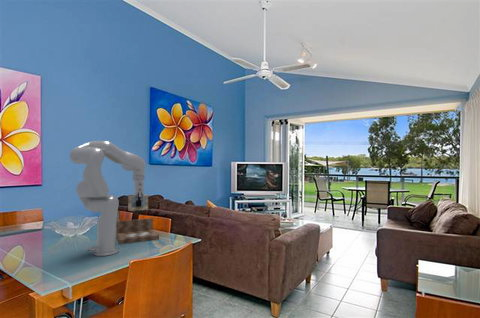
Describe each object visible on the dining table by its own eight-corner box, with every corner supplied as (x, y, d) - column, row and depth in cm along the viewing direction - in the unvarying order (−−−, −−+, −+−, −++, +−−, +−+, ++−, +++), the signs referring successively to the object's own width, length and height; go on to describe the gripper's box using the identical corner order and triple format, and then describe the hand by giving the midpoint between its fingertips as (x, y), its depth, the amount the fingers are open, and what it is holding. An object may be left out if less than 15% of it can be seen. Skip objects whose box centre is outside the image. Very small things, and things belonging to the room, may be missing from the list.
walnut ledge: (119, 244, 164) (119, 227, 164) (115, 237, 181) (116, 221, 182) (159, 239, 176) (159, 223, 177) (152, 232, 193) (152, 218, 194)
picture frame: (129, 211, 173) (129, 195, 173) (127, 209, 177) (128, 194, 178) (148, 209, 179) (148, 194, 179) (146, 208, 183) (146, 193, 184)
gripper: (147, 178, 173) (146, 207, 173) (142, 177, 187) (141, 204, 187) (134, 178, 170) (134, 208, 169) (130, 177, 183) (130, 204, 183)
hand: (138, 205), depth 178 cm, fingers closed on picture frame, 2 cm apart
